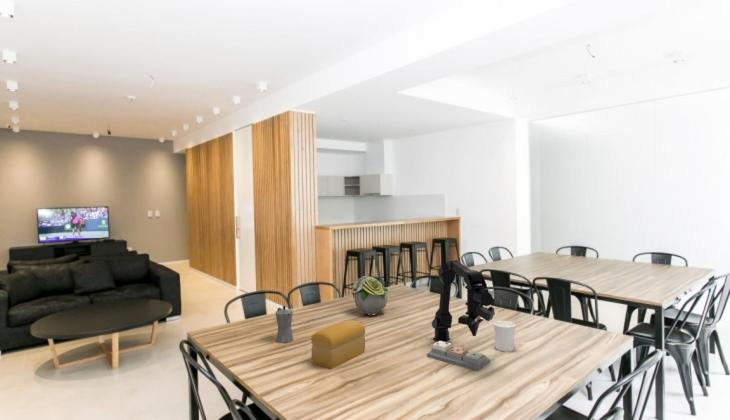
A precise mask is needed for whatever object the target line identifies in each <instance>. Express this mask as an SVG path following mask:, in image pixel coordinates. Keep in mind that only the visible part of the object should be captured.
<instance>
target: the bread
mask: <svg viewBox="0 0 730 420" xmlns="http://www.w3.org/2000/svg"><path fill="white" fill-rule="evenodd" d="M365 334H366V328H365V326H364V325H363V324H362V323H360V322H358V321H355V320H350V319H349V320H348V319H347V320H343V321H340V322H337V323H334V324H332V325H329V326H327V327H324V328H321V329H320V330H317V331H315V332H314V333H313V334H312V335H311V339H310V340H311V345H312V346H311V361H312V363H313V364H314V365H318V366H321V367H325V368H327V369H335V368H337V367H339V366H341V365H343V364H345V363H347V362H349V361H351V360H353V359H354V358H357V357H359V356H361V355H362V354H364V353H365V352H366V336H365Z"/></svg>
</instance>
